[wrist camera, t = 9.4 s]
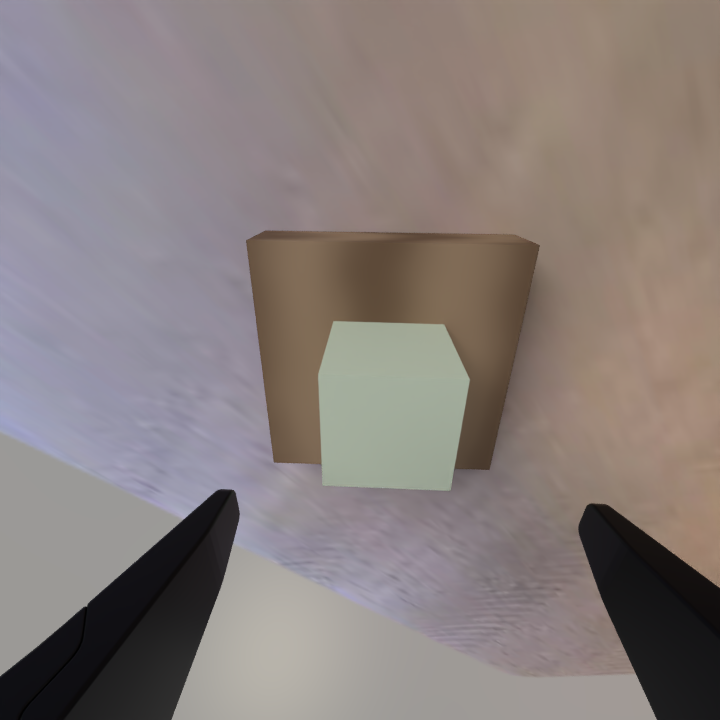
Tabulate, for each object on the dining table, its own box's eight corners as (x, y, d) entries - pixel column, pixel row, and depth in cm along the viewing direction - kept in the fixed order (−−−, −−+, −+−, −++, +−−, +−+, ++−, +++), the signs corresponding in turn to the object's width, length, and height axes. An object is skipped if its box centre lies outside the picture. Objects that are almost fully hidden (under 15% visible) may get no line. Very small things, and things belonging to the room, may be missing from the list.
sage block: (444, 324, 16) (470, 379, 12) (432, 415, 19) (450, 490, 14) (333, 321, 17) (318, 374, 12) (335, 412, 19) (322, 485, 14)
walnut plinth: (514, 234, 17) (539, 245, 15) (476, 435, 23) (489, 469, 20) (265, 230, 18) (245, 240, 15) (285, 429, 23) (273, 462, 20)
